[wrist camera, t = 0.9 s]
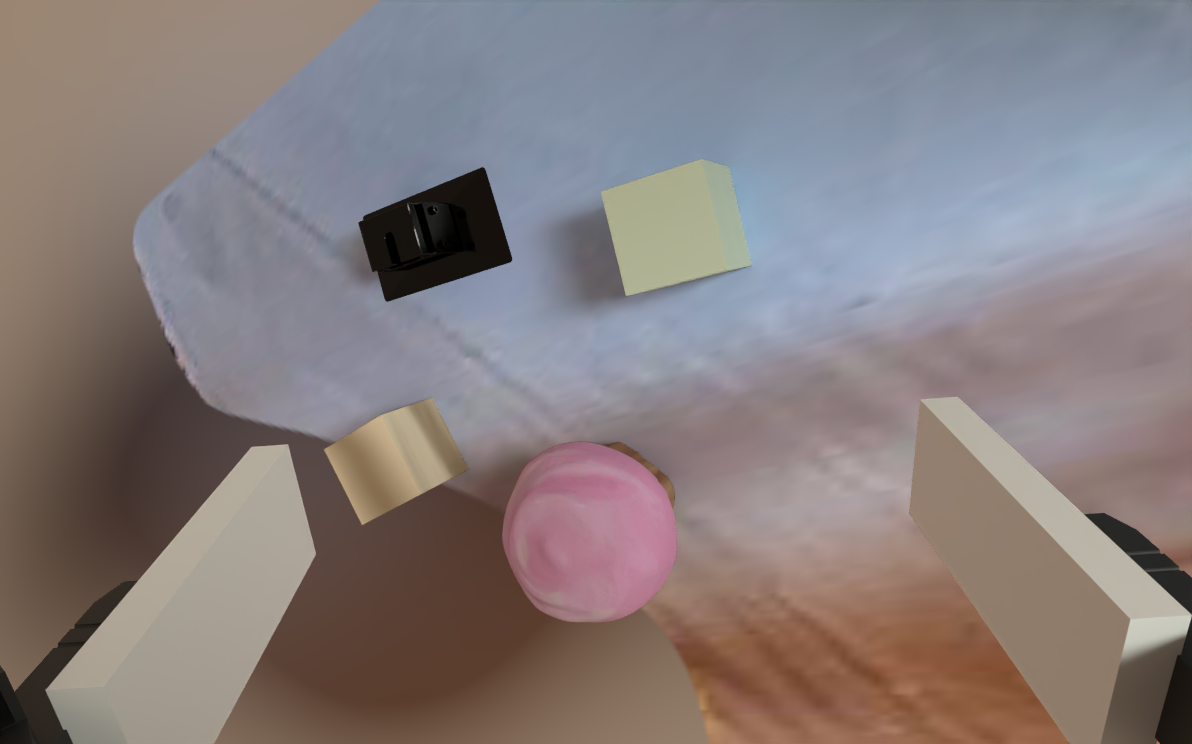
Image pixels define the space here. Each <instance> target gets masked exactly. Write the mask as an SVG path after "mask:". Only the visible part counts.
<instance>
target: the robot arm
mask: <svg viewBox="0 0 1192 744" xmlns="http://www.w3.org/2000/svg"><path fill="white" fill-rule="evenodd" d="M909 514H910V516H911V517H912V518H913V520H914V521H915V523H916V524H917V526H918V527H919V528H920V530H921V531H922V533H923V534H924V536H925V537H926V539H927V540H928V541H929V543H930V544H931V546H932V547H933V549H934V550H935V551H936V553H937V554H938V556H939V557H940V559H941V560H942V561H943V563H944V564H945V566H946V567H947V569H948V570H949V571H950V573H951V574H952V576H953V577H954V579H955V580H956V582H957V583H958V584H959V586H960V587H961V589H962V590H963V592H964V593H965V594H966V596H967V597H968V599H969V600H970V602H971V603H972V604H973V606H974V607H975V609H976V610H977V612H978V613H979V614H980V616H981V617H982V619H983V620H984V622H985V623H986V625H987V626H988V627H989V629H990V630H991V632H992V633H993V635H994V636H995V637H996V639H997V640H998V642H999V643H1000V645H1001V646H1002V647H1003V649H1004V650H1005V652H1006V653H1007V655H1008V656H1009V657H1010V659H1011V660H1012V662H1013V663H1014V665H1015V666H1016V668H1017V669H1018V670H1019V672H1020V673H1021V675H1022V676H1023V678H1024V679H1025V680H1026V682H1027V683H1028V685H1029V686H1030V688H1031V689H1032V690H1033V692H1034V693H1035V695H1036V696H1037V698H1038V699H1039V700H1040V702H1041V703H1042V705H1043V706H1044V708H1045V709H1046V711H1047V712H1048V713H1049V715H1050V716H1051V718H1052V719H1053V721H1054V722H1055V723H1056V725H1057V726H1058V728H1059V729H1060V731H1061V732H1062V733H1063V735H1064V736H1065V738H1066V739H1067V741H1068V742H1069V743H1070V744H1156V742H1157V740H1158V742H1159V743H1160V744H1192V578H1191V577H1190V576H1189V575H1188V574H1187V573H1186V572H1185V571H1180V570H1179V566H1178V565H1177V564H1175V563H1174V562H1173V561H1172V560H1171V559H1170V558H1168V557H1167V556H1166V555H1165V554H1160V550H1159V549H1158V548H1157V547H1156V546H1155V545H1154V544H1152V543H1151V542H1150V541H1149V540H1148V539H1147V538H1145V537H1144V536H1143V535H1142V534H1141V533H1140V532H1139V531H1137V530H1136V529H1134V528H1132V527H1130V526H1128V525H1126V524H1124V523H1123V522H1121V521H1119V520H1117V519H1115V518H1113V517H1111V516H1109V515H1107V514H1105V513H1097V514H1083V513H1082V512H1081V511H1080V510H1079V509H1078V508H1076V507H1075V506H1074V505H1073V504H1072V503H1071V502H1070V501H1069V500H1068V499H1067V498H1066V497H1065V496H1064V495H1062V494H1061V493H1060V492H1059V491H1058V490H1057V489H1056V488H1055V487H1054V486H1053V485H1052V484H1051V483H1050V482H1049V481H1047V480H1046V479H1045V478H1044V477H1043V476H1042V475H1041V474H1040V473H1039V472H1038V471H1037V470H1036V469H1035V468H1033V467H1032V466H1031V465H1030V464H1029V463H1028V462H1027V461H1026V460H1025V459H1024V458H1023V457H1022V456H1021V455H1020V454H1018V453H1017V452H1016V451H1015V450H1014V449H1013V448H1012V447H1011V446H1010V445H1009V444H1008V443H1007V442H1006V441H1004V440H1003V439H1002V438H1001V437H1000V436H999V435H998V434H997V433H996V432H995V431H994V430H993V429H992V428H991V427H989V426H988V425H987V424H986V423H985V422H984V421H983V420H982V419H981V418H980V417H979V416H978V415H977V414H975V413H974V412H973V411H972V410H971V409H970V408H969V407H968V406H967V405H966V404H965V403H964V402H963V401H962V400H960V399H959V398H958V397H949V398H935V399H921V400H920V406H919V417H918V427H917V437H916V448H915V458H914V468H913V478H912V489H911V499H910V509H909ZM315 555H316V552H315V548H314V544H313V540H312V536H311V533H310V529H309V525H308V521H307V517H306V513H305V509H304V506H303V501H302V497H301V493H300V490H299V486H298V482H297V479H296V474H295V470H294V467H293V462H292V459H291V454H290V451H289V447H288V444H287V445H273V446H259V447H251V448H250V450H249V451H248V452H247V453H246V454H245V456H244V457H243V458H242V459H241V460H240V461H239V462H238V464H237V465H236V466H235V467H234V468H233V470H232V471H231V472H230V473H229V474H228V475H227V477H226V478H225V479H224V480H223V482H222V483H221V484H220V485H219V486H218V487H217V488H216V490H215V491H214V492H213V493H212V494H211V496H210V497H209V498H208V499H207V500H206V501H205V503H204V504H203V505H202V506H201V507H200V509H199V510H198V511H197V512H196V513H195V514H194V516H193V517H192V518H191V519H190V520H189V522H188V523H187V524H186V525H185V526H184V527H183V529H182V530H181V531H180V532H179V533H178V534H177V536H176V537H175V538H174V539H173V540H172V542H171V543H170V544H169V545H168V546H167V548H166V549H165V550H164V551H163V552H162V553H161V555H160V556H159V557H158V558H157V559H156V561H155V562H154V563H153V564H152V565H151V566H150V568H149V569H148V570H147V571H146V572H145V574H144V575H143V576H142V577H141V578H140V579H139V580H138V581H128V582H123V583H122V584H120V585H119V586H117V587H116V588H114V589H113V590H111V591H110V592H109V593H107V594H106V595H104V596H103V597H102V598H100V599H99V600H97V601H96V602H95V603H94V604H93V605H92V606H91V607H90V608H89V609H88V610H87V611H86V613H85V614H84V615H83V616H82V617H81V618H80V619H79V620H78V622H77V623H76V624H75V628H74V629H70V631H69V632H68V633H67V634H66V635H65V636H64V637H63V638H62V639H61V641H60V642H59V643H58V647H57V648H53V649H52V651H51V652H50V653H49V654H48V655H47V656H46V657H45V658H44V660H43V661H42V662H41V663H40V664H39V665H38V666H37V667H36V669H35V670H34V671H33V672H32V673H31V674H30V675H29V676H28V677H27V679H26V680H25V681H24V682H23V683H22V684H21V685H20V686H19V688H18V689H17V690H16V691H15V692H14V690H13V688H12V686H11V684H10V682H9V679H8V677H7V675H6V673H5V671H4V670H3V669H2V668H1V666H0V744H214V743H215V741H216V739H217V737H218V735H219V733H220V731H221V730H222V728H223V726H224V724H225V722H226V720H227V718H228V717H229V715H230V713H231V711H232V709H233V707H234V705H235V704H236V702H237V700H238V698H239V696H240V694H241V693H242V690H243V689H244V687H245V685H246V683H247V681H248V680H249V678H250V676H251V674H252V672H253V670H254V668H255V666H256V665H257V663H258V661H259V659H260V657H261V655H262V653H263V651H264V650H265V648H266V646H267V644H268V642H269V641H270V639H271V636H272V635H273V633H274V631H275V629H276V628H277V626H278V624H279V622H280V620H281V618H282V616H283V615H284V612H285V611H286V609H287V607H288V605H289V603H290V601H291V600H292V598H293V596H294V594H295V592H296V590H297V588H298V586H299V585H300V583H301V581H302V579H303V577H304V575H305V574H306V572H307V570H308V568H309V566H310V564H311V563H312V561H313V559H314V557H315Z"/></svg>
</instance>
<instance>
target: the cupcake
mask: <svg viewBox="0 0 1192 744" xmlns="http://www.w3.org/2000/svg"><path fill="white" fill-rule="evenodd" d="M674 500H675V491H674V488H673V485H672V483H671V481H670V480H669V478H668V477H667V476H666V475H665V474H664V473H662V472H660V471H659V470H658V469H657V468H656V467H655V466H654V465H653V464H651V463H650V462H648V461H647V460H646V459H644V458H643V457H642V456H641V455H640V454H639V453H638V452H636V451H634V450H633V449H631V448H629V447H628V446H626V445H625V444H623V443H621V442H616V443H613V444H611V445H609V446H603V445H599V444H596V443H590V442H569V443H563V444H559V445H556V446H553V447H552V448H550V449H548V450H546V451H544V452H543V453H541V454H539V455H538V456H537V457H535V458H534V459H533V460H532V461H530V462H529V463H528V464H527V465H526V466H525V468H524V469H523V471H522V472H521V474H520V476H519V478H518V480H517V482H516V485H515V487H514V490H513V492H512V495H511V497H510V499H509V502H508V505H507V507H506V512H505V517H504V522H503V532H502V537H503V538H502V539H503V546H504V550H505V553H506V556H507V559H508V561H509V564H510V566H511V569H512V571H513V573H514V575H515V577H516V579H517V580H518V582H519V584H520V585H521V587H522V589H523V591H524V593H525V594H526V596H527V597H528V599H529V600H530V601H531V602H532V603H533V604H534V605H535V606H536V607H537V608H538V609H539V610H541V611H542V612H544V613H546V614H548V615H550V616H552V617H555V618H558V619H561V620H564V621H570V622H604V621H611V620H616V619H619V618H622V617H625V616H627V615H629V614H631V613H633V612H635V611H636V610H638V609H639V608H641V607H642V606H643V605H644V604H646V603H647V602H648V601H649V600H650V599H651V598H653V597H654V596H655V595H656V594H657V592H658V591H659V590H660V589H661V587H662V586H663V585H664V583H665V581H666V579H667V577H668V575H669V573H670V571H671V569H672V567H673V565H674V563H675V558H676V553H677V533H676V524H675V517H674V513H673V506H674Z"/></svg>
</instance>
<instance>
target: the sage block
mask: <svg viewBox="0 0 1192 744" xmlns="http://www.w3.org/2000/svg"><path fill="white" fill-rule="evenodd" d="M601 195H602V199H603V203H604V207H605V212H606V216H607V220H608V224H609V228H610V232H611V236H612V240H613V245H614V249H615V253H616V257H617V261H618V265H619V269H620V273H621V278H622V282H623V286H624V290H625V294H626V296H629V295H634V294H638V293H643V292H648V291H653V290H657V289H662V288H666V287H670V286H674V285H677V284H681V283H685V282H689V281H693V280H697V279H701V278H705V277H709V276H713V275H717V274H721V273H725V272H729V271H733V270H737V269H741V268H745V267H748V266H752V264H751V260H750V255H749V251H748V247H747V242H746V238H745V234H744V229H743V225H742V221H741V216H740V212H739V208H738V203H737V199H736V195H735V190H734V186H733V181H732V177H731V173H730V168H729V167H727V166H724V165H721V164H717V163H714V162H711V161H707V160H704V159H700V160H697V161H693V162H690V163H687V164H684V165H681V166H678V167H675V168H672V169H669V170H666V171H663V172H659V173H656V174H653V175H650V176H647V177H644V178H641V179H638V180H635V181H632V182H629V183H626V184H622V185H619V186H616V187H613V188H610V189H607V190H604V191H601Z"/></svg>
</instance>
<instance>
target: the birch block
mask: <svg viewBox="0 0 1192 744" xmlns="http://www.w3.org/2000/svg"><path fill="white" fill-rule="evenodd" d="M324 451H325V452H326V454H327V457H328V459H329V460H330V462H331V464H332V466H333V468H334V470H335V472H336V474H337V476H338V478H339V480H340V482H341V484H342V486H343V488H344V490H345V492H346V494H347V496H348V498H349V500H350V502H351V504H352V506H353V508H354V510H355V512H356V514H357V516H358V518H359V520H360V522H361V524H362V525H363V524H365V523H367V522H369V521H371V520H373V519H375V518H376V517H378V516H380V515H382V514H384V513H386V512H388V511H390V510H392V509H394V508H395V507H398V506H399V505H401V504H403V503H405V502H407V501H409V500H411V499H413V498H415V497H417V496H419V495H420V494H422V493H424V492H426V491H428V490H430V489H432V488H434V487H436V486H438V485H440V484H442V483H444V482H445V481H447V480H449V479H451V478H453V477H455V476H457V475H459V474H461V473H463V472H465V471H466V470H468V467H467V465H466V463H465V461H464V459H463V457H462V455H461V453H460V451H459V449H458V447H457V445H456V443H455V441H454V439H453V438H452V436H451V434H450V432H449V430H448V428H447V426H446V424H445V422H444V420H443V418H442V416H441V414H440V412H439V410H438V408H437V406H436V404H435V402H434V400H433V398H430V399H427V400H424V401H421V402H418V403H415V404H412V405H409V406H406V407H403V408H400V409H397V410H394V411H391V412H388V413H385V414H382V415H380V416H378V417H377V418H375V419H373V420H372V421H370V422H369V423H367V424H365V425H364V426H362V427H360V428H359V429H357V430H355V431H354V432H352V433H350V434H349V435H347V436H345V437H344V438H342V439H341V440H339V441H337V442H336V443H334V444H332V445H331V446H329V447H327V448H326V449H324Z"/></svg>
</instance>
